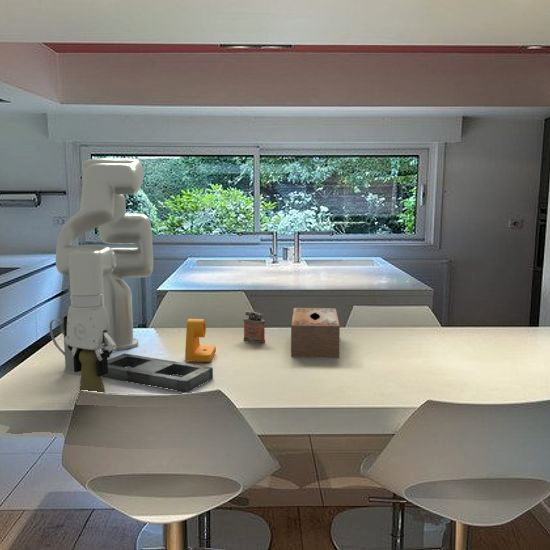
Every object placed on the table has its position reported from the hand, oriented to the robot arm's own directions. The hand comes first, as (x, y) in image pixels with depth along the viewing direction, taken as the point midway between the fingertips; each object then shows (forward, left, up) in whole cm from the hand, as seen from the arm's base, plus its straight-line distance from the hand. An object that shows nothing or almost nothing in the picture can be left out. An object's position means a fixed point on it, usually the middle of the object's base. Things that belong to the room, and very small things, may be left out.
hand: (91, 372), depth 134 cm
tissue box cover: (+33, +64, -6) cm, 72 cm away
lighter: (+13, +60, -5) cm, 62 cm away
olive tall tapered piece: (0, 0, -5) cm, 5 cm away
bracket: (+8, +36, -5) cm, 37 cm away
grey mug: (-19, +12, -5) cm, 23 cm away
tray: (+6, +16, -5) cm, 18 cm away
